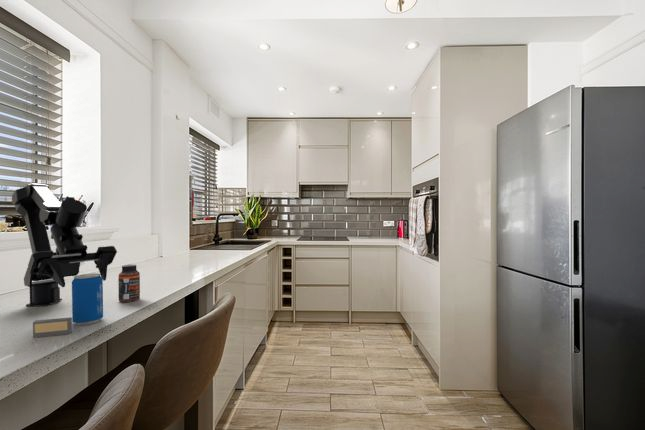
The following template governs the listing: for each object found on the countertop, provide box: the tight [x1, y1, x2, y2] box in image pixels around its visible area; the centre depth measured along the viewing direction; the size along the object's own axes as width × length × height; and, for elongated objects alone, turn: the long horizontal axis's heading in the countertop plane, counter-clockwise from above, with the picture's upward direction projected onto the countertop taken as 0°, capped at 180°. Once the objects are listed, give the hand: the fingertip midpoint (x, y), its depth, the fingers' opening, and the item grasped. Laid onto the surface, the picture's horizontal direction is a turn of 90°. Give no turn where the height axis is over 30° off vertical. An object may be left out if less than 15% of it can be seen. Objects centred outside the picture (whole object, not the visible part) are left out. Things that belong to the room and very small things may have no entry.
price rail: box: [32, 317, 73, 338], centre depth 76 cm, size 7×1×4 cm, turn 107°
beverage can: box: [71, 273, 104, 326], centre depth 85 cm, size 6×6×12 cm
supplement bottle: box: [117, 264, 141, 303], centre depth 105 cm, size 6×6×11 cm
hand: (85, 282), depth 85 cm, fingers open, 9 cm apart
